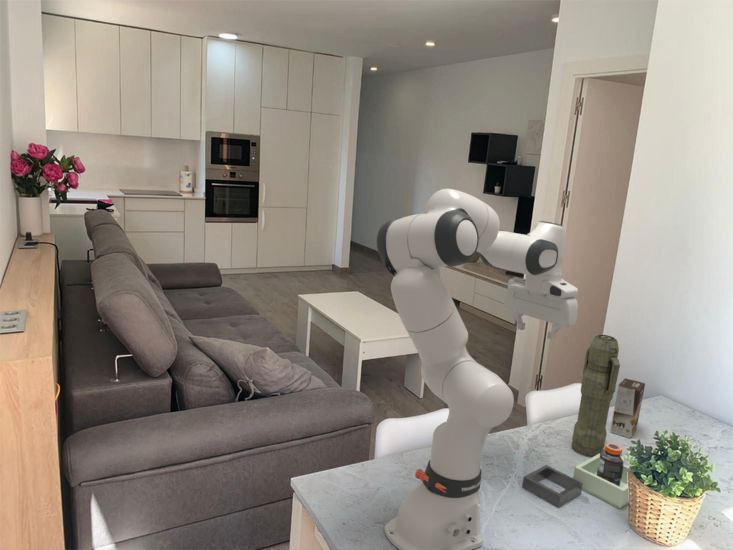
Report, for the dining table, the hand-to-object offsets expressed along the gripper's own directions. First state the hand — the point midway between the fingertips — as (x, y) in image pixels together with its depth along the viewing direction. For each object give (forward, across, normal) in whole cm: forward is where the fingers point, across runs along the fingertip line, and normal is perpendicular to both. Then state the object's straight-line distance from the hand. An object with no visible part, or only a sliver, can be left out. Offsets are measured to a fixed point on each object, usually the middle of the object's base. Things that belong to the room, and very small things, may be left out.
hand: (535, 334), depth 153 cm
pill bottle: (+37, +22, +9) cm, 44 cm away
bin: (+37, +22, +9) cm, 44 cm away
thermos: (+37, +8, +24) cm, 45 cm away
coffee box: (+37, +8, +47) cm, 61 cm away
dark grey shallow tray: (+37, +14, -5) cm, 40 cm away
